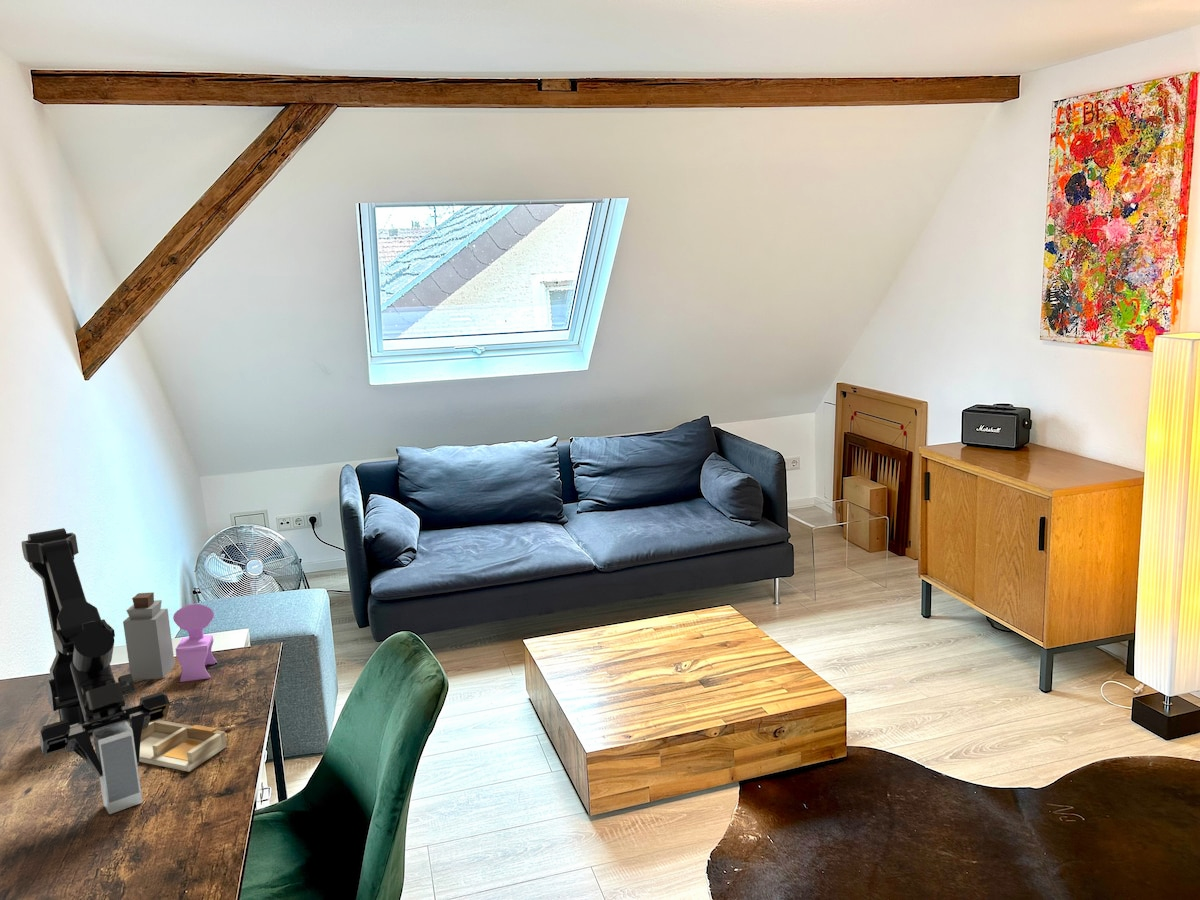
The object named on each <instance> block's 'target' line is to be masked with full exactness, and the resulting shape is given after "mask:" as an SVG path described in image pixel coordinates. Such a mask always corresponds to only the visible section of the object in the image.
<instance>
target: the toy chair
mask: <svg viewBox="0 0 1200 900" xmlns="http://www.w3.org/2000/svg"><path fill="white" fill-rule="evenodd" d="M214 613H215V612H214V611H213V608H211V607H209V606H206V605H205V604H201V603H192V604H191V603H190V604H188V605H185V606H182V607H181V608H179V609H178V610H177V611H175V613H174V614H173V621H174V623H175V624H176V626H178V627H179V629H181V630H183V631H187V633H188V637H182V638H181V639H180V641H179V643H178V645H177V646H176V648H175V657H176V659H177V661H178V662H179V665H180V668H181V675H180V679H179V682H180V683H181V682H183V683H184V682H189V681H190V682H191V681H199V680H206V679H211V678H212V676H211V675H210V674H209V672H208V671H207V669H206V665H207V664H210V665H215V663H217V664H218V661H217V660H216V658H215V657H214V655H213V653H212V648H213V645H214V644H213V643H214V635H213V634H207V635H204V634H205V633H204V632H205V631H204V629H205V628H206V627H208V626H210V625H209V624H210V623H211V622H212V621H213V619H214V618H215V617H214V615H215V614H214ZM207 666H208V665H207Z"/></svg>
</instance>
